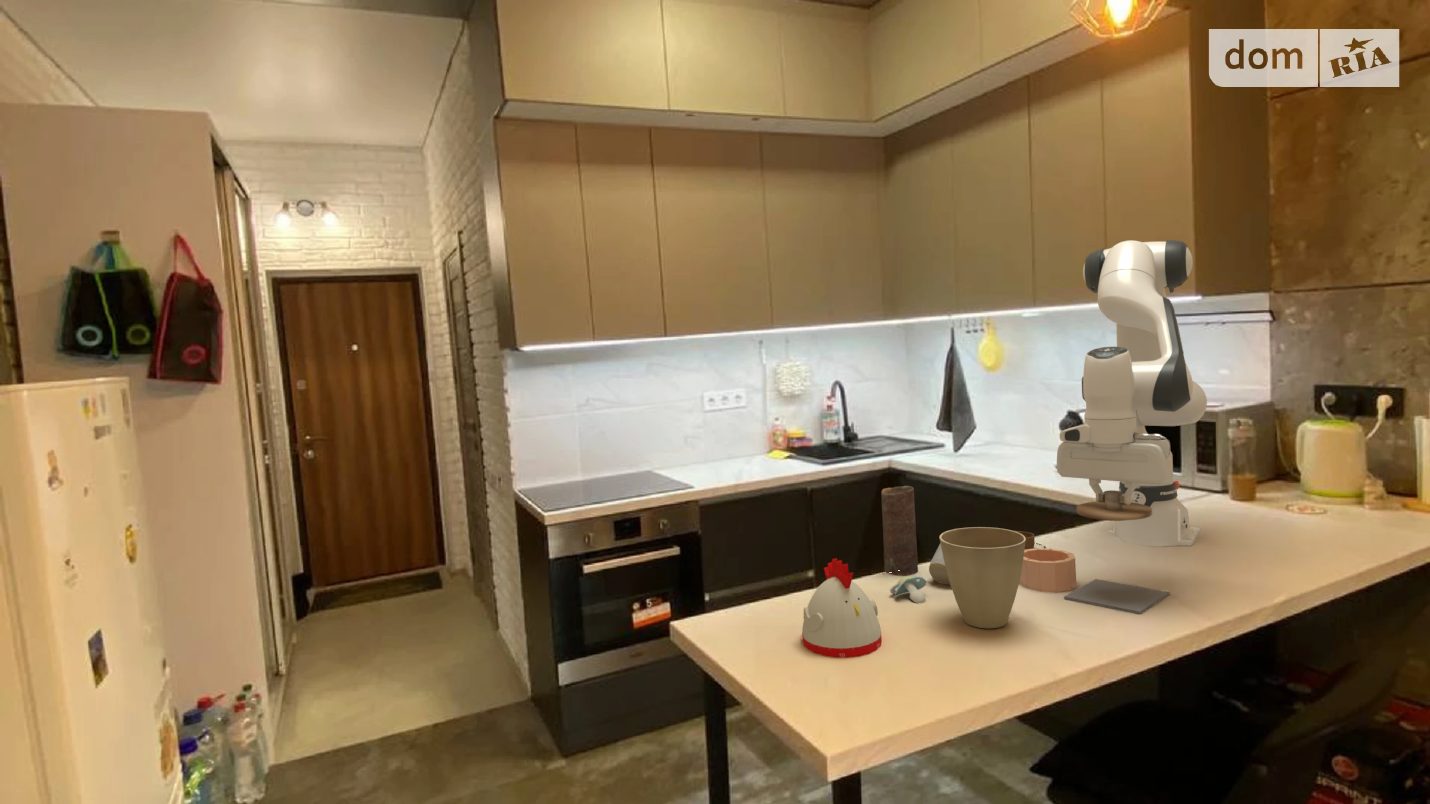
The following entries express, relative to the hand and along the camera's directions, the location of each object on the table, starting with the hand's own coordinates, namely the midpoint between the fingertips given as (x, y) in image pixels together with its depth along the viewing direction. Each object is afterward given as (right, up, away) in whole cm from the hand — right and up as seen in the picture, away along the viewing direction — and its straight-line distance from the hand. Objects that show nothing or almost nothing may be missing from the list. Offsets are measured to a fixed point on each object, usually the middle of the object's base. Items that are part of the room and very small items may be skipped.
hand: (1113, 503), depth 149 cm
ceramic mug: (-25, -20, +14) cm, 35 cm away
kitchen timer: (-54, -24, -12) cm, 60 cm away
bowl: (-8, -18, +12) cm, 23 cm away
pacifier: (-38, -22, +9) cm, 45 cm away
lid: (0, -3, 0) cm, 3 cm away
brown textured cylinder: (-35, -20, +24) cm, 47 cm away
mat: (+1, -18, +1) cm, 19 cm away
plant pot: (-27, -21, -7) cm, 35 cm away
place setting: (-7, -18, +33) cm, 38 cm away
